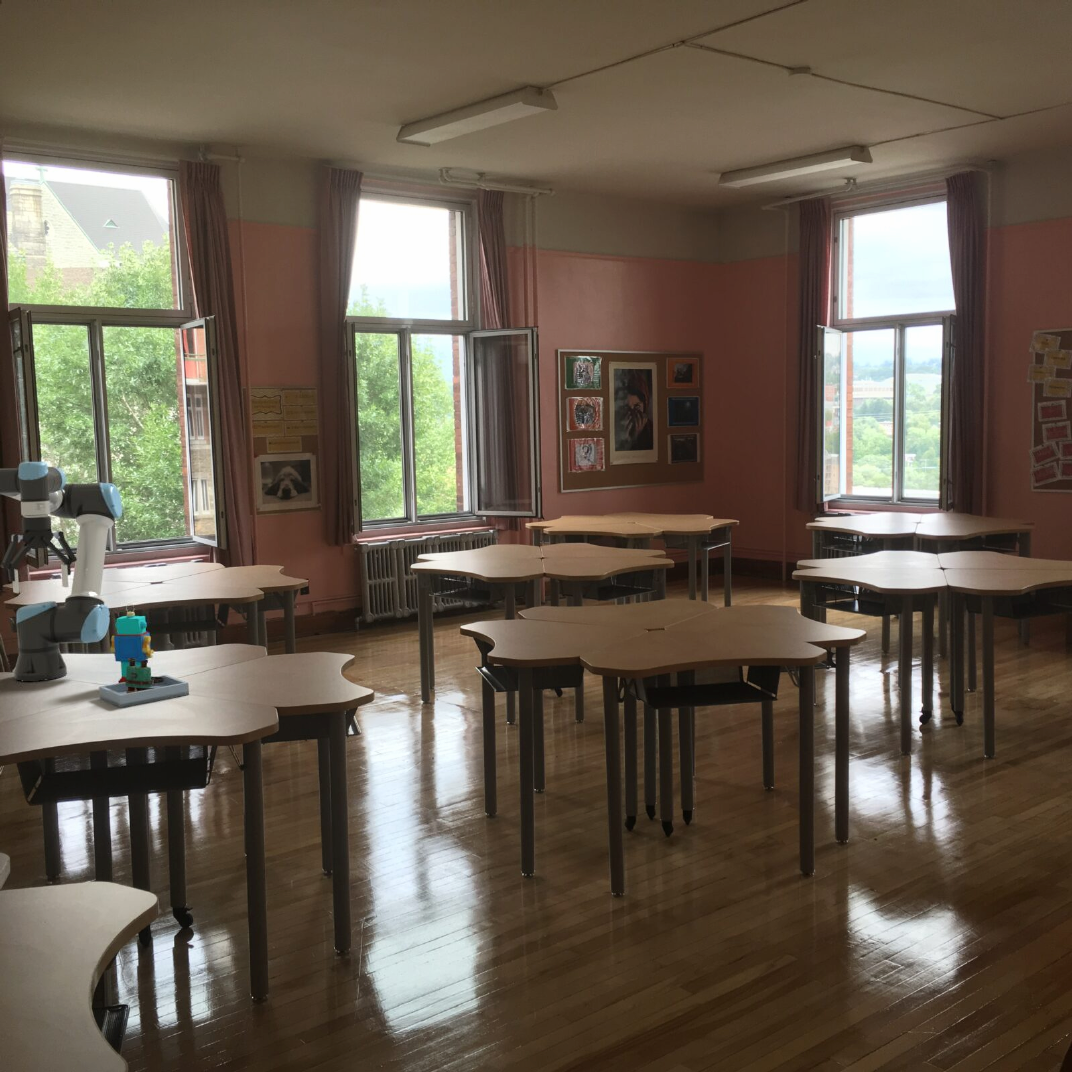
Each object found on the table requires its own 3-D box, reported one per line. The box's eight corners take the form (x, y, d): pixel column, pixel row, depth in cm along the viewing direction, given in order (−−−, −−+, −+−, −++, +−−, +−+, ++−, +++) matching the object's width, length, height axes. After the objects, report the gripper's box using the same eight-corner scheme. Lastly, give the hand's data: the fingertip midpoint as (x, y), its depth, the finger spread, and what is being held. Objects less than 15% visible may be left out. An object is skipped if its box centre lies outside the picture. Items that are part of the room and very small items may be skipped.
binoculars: (169, 657, 316) (143, 660, 307) (168, 693, 316) (143, 698, 307) (145, 654, 320) (119, 658, 311) (144, 690, 320) (119, 695, 311)
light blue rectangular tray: (99, 698, 312) (99, 686, 312) (166, 686, 326) (165, 674, 326) (120, 707, 302) (120, 695, 301) (189, 694, 315) (188, 682, 315)
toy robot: (158, 682, 331) (153, 601, 328) (149, 687, 325) (144, 605, 322) (121, 682, 332) (116, 602, 329) (112, 687, 326) (107, 605, 323)
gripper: (-7, 520, 298) (-1, 596, 300) (85, 513, 315) (90, 585, 317) (-15, 518, 303) (-10, 593, 306) (75, 512, 320) (80, 583, 323)
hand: (41, 589), depth 311 cm, fingers open, 13 cm apart
